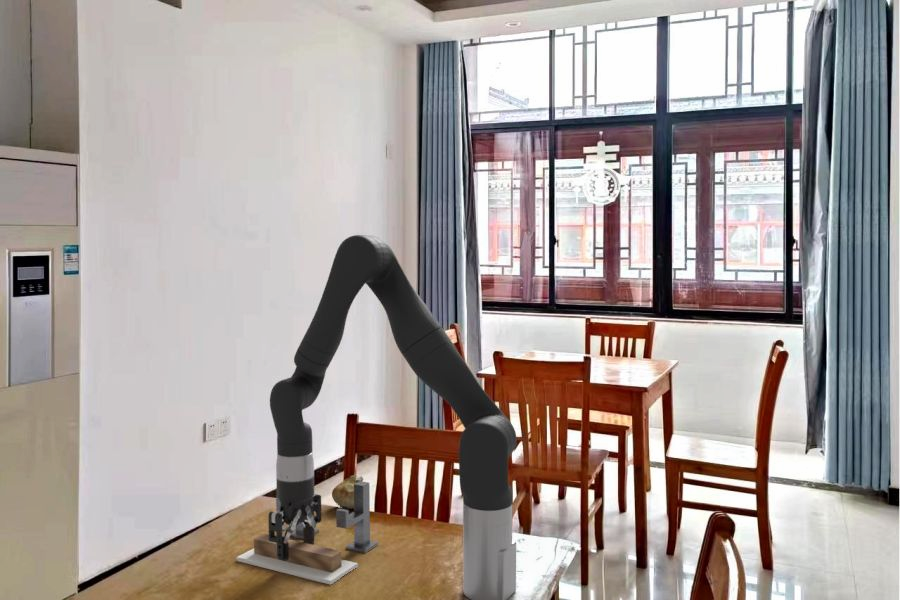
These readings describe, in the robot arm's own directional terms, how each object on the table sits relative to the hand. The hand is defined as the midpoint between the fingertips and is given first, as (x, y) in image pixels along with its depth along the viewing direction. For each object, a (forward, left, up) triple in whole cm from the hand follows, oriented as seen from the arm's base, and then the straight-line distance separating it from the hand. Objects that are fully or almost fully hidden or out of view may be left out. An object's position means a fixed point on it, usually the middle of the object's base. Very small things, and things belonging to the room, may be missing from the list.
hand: (296, 552), depth 152 cm
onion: (+10, -32, -3) cm, 34 cm away
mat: (0, 0, -2) cm, 2 cm away
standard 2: (-7, -11, -2) cm, 13 cm away
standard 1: (+9, -11, -2) cm, 14 cm away
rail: (0, 0, -2) cm, 2 cm away
